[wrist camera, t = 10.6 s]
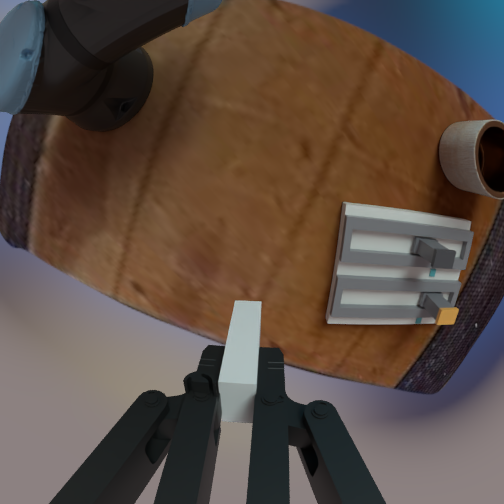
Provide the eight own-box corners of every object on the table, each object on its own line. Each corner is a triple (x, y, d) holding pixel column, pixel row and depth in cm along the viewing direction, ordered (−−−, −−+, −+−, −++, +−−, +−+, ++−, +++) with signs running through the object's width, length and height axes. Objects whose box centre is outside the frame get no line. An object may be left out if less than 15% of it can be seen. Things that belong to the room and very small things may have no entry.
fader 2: (422, 290, 39) (440, 310, 33) (441, 291, 39) (460, 309, 33) (418, 304, 40) (435, 325, 34) (437, 304, 40) (455, 323, 34)
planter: (436, 115, 33) (473, 109, 24) (485, 130, 32) (522, 130, 23) (434, 185, 36) (471, 194, 27) (482, 193, 36) (519, 204, 27)
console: (342, 201, 38) (348, 205, 35) (464, 218, 37) (475, 223, 34) (325, 316, 44) (328, 327, 41) (439, 317, 43) (446, 326, 40)
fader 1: (414, 236, 37) (435, 249, 31) (435, 238, 36) (457, 252, 31) (411, 252, 37) (431, 267, 31) (432, 253, 37) (453, 269, 31)
